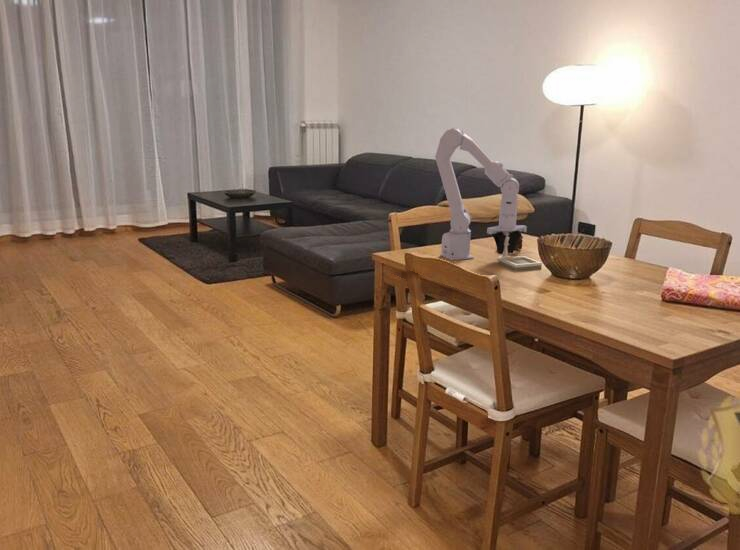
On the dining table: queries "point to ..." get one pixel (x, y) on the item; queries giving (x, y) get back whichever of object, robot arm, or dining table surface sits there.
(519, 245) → the pottery mug
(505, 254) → the chess piece
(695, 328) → the dining table surface
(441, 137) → the robot arm
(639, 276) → the dining table surface
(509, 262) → the picture frame
